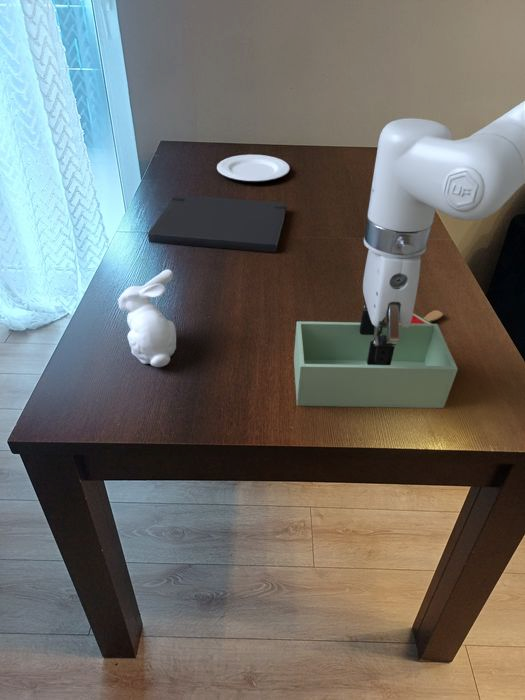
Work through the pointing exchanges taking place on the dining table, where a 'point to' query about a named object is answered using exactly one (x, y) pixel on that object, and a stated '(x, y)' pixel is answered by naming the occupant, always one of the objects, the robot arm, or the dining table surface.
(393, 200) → the robot arm
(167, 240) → the notebook
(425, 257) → the dining table surface
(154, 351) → the rabbit
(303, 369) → the bin
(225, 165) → the plate
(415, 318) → the popsicle
